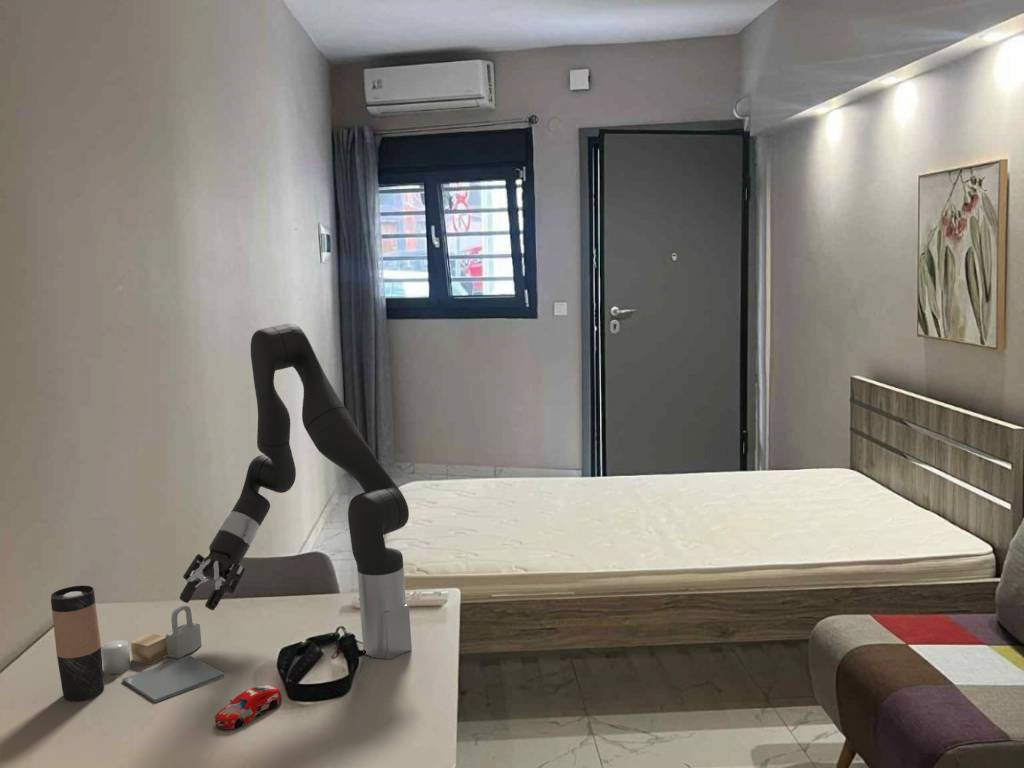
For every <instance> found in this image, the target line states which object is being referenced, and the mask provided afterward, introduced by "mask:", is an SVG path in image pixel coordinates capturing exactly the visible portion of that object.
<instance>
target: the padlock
mask: <svg viewBox="0 0 1024 768" xmlns="http://www.w3.org/2000/svg"><path fill="white" fill-rule="evenodd" d="M182 611H184V612H185V618H186V623H184V624H182V625H178V615H179V614H180V612H182ZM192 614H193V613H192V609H191V607H190V606H189V605H188V604H187V603H186V604H180V605H179V606H177V607H176V608H174V610H173V611H172V613H171V618H170V619H171V629H172V630H171V631H169V632H168V633H166V634H165V637H166V642H167V654H168V655H167V657H168V658H174V659H180V658H183V657H186V656H188V655H190V654H191V653H194V651H196V650H197V649H199V648H200V647H201V646H202V644H203V643H202V634H201V626H200V625H201V624H200V623H197V622H196V623H195V622H193V618H192V617H193V615H192Z"/></svg>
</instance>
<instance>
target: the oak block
mask: <svg viewBox="0 0 1024 768" xmlns="http://www.w3.org/2000/svg"><path fill="white" fill-rule="evenodd" d="M130 647H131V648H130V649H131V656H132V657H131V659H132V661H135V662H139V663H142V664H147V665H151V664H153V663H155V662H157V661H158V660H161V659H163V658H165V657H167V656H168V654H167V642H166V635H160V634H156V633H151V632H150V633H148V634H146V635H143V636H140V637H138V638H137V639H134V640H132V641H130ZM166 655H167V656H166ZM164 656H165V657H164ZM162 657H163V658H162ZM160 658H161V659H160Z"/></svg>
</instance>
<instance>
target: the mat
mask: <svg viewBox="0 0 1024 768" xmlns="http://www.w3.org/2000/svg"><path fill="white" fill-rule="evenodd" d="M224 677H225V673H224V672H222V671H220V670H218V669H216V668H214V667H213V666H210V665H209V664H207V663H206V662H203V661H201V660H200V659H197V658H196V657H194V656H192V655H190V654H187V655H185V656H183V657H181V658H176V659H175V660H172V661H169V662H166V663H163V664H160V665H157V666H155V667H152V668H150V669H146V670H143V671H140V672H138V673H135V674H132V675H129V676H127V677H123V678H121V679H122V680H121V681H122V683H124V684H125V685H126V686H128V687H130V688H131V689H132V690H135V691H137V692H138V693H140V695H142V696H144V697H145V698H147V699H148V700H151V702H153V703H158V702H160V701H164V700H166V699H169V698H172V697H174V696H177V695H180V694H182V693H186V692H187V691H191V690H193V689H195V688H198V687H200V686H203V685H204V686H205V685H206V684H208V683H211V682H214V681H216V680H217V681H218V680H220V679H222V678H224Z"/></svg>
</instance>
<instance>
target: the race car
mask: <svg viewBox="0 0 1024 768" xmlns="http://www.w3.org/2000/svg"><path fill="white" fill-rule="evenodd" d="M282 696H283V695H282V693H281V690H280V689H279V687H276V686H272V685H269V684H268V685H267V684H266V685H261V686H255V687H251V688H248V689H247V690H244V691H242V692H241V693H239V694H238V695H237V696H235V697H234V698H233V699H229V704H228V705H226V706H224V707H223V708H221V710H219V711H218V712H217V713H216V714H215V716H214V722H215V723H214V724H215V726H216V727H217V728H218V729H220V730H222V729H223V730H234V729H235V730H239V728H241V727H243V726H244V725H246V724H247V723H249V722H251V721H253V720H255V719H257V718H258V717H260V716H262V715H264V714H266V713H268V712H269V711H273V710H274V709H276V708H277V707H278V706H279V705H280V704H282V701H283V697H282Z"/></svg>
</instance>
